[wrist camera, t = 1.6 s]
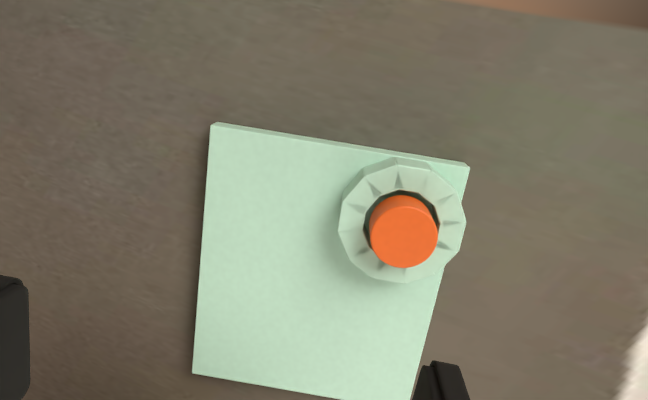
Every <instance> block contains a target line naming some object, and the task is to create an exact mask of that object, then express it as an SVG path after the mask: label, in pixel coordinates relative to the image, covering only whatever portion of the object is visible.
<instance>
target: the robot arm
mask: <svg viewBox="0 0 648 400" xmlns="http://www.w3.org/2000/svg"><path fill="white" fill-rule="evenodd" d="M29 385H30V345H29V302H28V289H27V288H26V287H25V286H23V283H22V281H21V280H20V279H18V278H13V277H8V276H3V275H0V400H21V399H22V398H23V396H24V395H25V394H26V392H27V390H28V388H29ZM412 400H470V398H469V395H468V392H467V389H466V386H465V383H464V380H463V377H462V374H461V371H460V368H459V366H457V365H454V364H449V363H444V362H439V361H432V362H431V364H430V366H425V365H424V366H422V368H421V371H420V375H419V378H418V382H417V385H416V389H415V392H414V396H413V399H412Z"/></svg>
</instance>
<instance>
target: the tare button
mask: <svg viewBox="0 0 648 400" xmlns="http://www.w3.org/2000/svg"><path fill="white" fill-rule="evenodd" d="M369 232H370V242H371V246H372V249H373V251H374V253H375V254H376V256H377V257H378V258H379V259H380V260H381V261H383V262H384V263H386V264H388V265H390V266H393V267H398V268H409V267H413V266H416V265H419V264H421V263H422V262H424V261H425V260H426V259H428V258H429V257H430V255H431V254H432V253H433V251H434V250H435V248H436V245H437V241H438V231H437V227H436V224H435V222H434V220H433V218H432V216H431V214H430V212H429V210H428V208H427V207H426V206H425V205H424V204H423V203H422V202H421V201H420V200H418V199H416V198H414V197H411V196H407V195H396V196H392V197H389V198H387V199H385V200H383V201H382V202H380V203H379V204H378V205H377V206H376V207H375V209H374V210H373V212H372V214H371V216H370V220H369Z"/></svg>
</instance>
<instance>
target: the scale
mask: <svg viewBox="0 0 648 400" xmlns="http://www.w3.org/2000/svg"><path fill="white" fill-rule="evenodd" d="M469 171H470V167H469V166H467V165H466V164H465V163H464V162H458V161H452V160H446V159H440V158H434V157H428V156H422V155H416V154H409V153H403V152H397V151H391V150H385V149H379V148H373V147H367V146H361V145H355V144H349V143H343V142H337V141H331V140H325V139H319V138H313V137H306V136H300V135H294V134H288V133H282V132H276V131H270V130H264V129H258V128H252V127H246V126H240V125H234V124H228V123H222V122H216V123H214V124H212V125H211V126H210V138H209V152H208V165H207V178H206V192H205V205H204V218H203V232H202V245H201V258H200V272H199V285H198V298H197V312H196V325H195V338H194V352H193V365H192V373H193V374H199V375H205V376H210V377H216V378H222V379H227V380H233V381H239V382H244V383H250V384H256V385H261V386H267V387H273V388H278V389H284V390H290V391H296V392H301V393H307V394H313V395H318V396H324V397H330V398H335V399H341V400H410V396H411V393H412V389H413V385H414V381H415V377H416V373H417V370H418V366H419V362H420V358H421V354H422V350H423V347H424V343H425V339H426V335H427V331H428V328H429V324H430V320H431V316H432V312H433V308H434V305H435V301H436V297H437V293H438V289H439V285H440V282H441V278H442V274H443V270H444V266H445V265H446V264H447V263H448V262H449V261H450V260H451V259H452V258H453V257H454V256H455V255H456V254H457V252H458V251H459V248H460V245H461V241H462V237H463V233H464V230H465V226H466V218H465V215H464V212H463V208H462V205H461V201H462V198H463V194H464V190H465V186H466V182H467V178H468V175H469ZM396 195H407V196H411V197H414V198H416V199H418V200H420V201H421V202H422V203H423V204H424V205H425V206H426V207H427V208H428V210H429V212H430V214H431V216H432V218H433V220H434V222H435V224H436V227H437V231H438V241H437V245H436V248H435V250H434V251H433V253H432V254H431V255H430V257H429V258H428V259H426V260H425V261H424V262H422V263H421V264H419V265H416V266H413V267H409V268H398V267H393V266H390V265H388V264H386V263H384V262H383V261H381V260H380V259H379V258H378V257H377V256H376V254H375V253H374V251H373V249H372V246H371V242H370V232H369V220H370V216H371V214H372V212H373V210H374V209H375V207H376V206H377V205H378V204H379V203H380V202H382V201H383V200H385V199H387V198H389V197H392V196H396Z"/></svg>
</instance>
